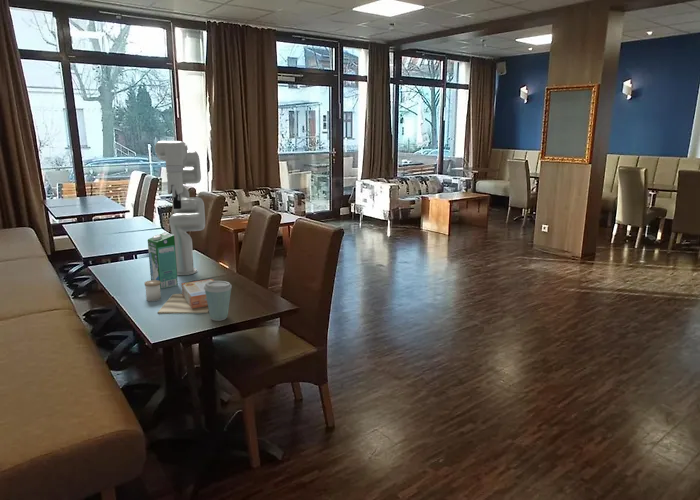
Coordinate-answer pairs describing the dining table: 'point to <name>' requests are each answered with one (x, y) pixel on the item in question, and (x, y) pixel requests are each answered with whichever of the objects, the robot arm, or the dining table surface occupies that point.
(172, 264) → the milk carton
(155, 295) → the tan and white mushroom
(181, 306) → the beech board
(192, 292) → the cracker box
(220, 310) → the disposable coffee cup
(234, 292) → the dining table surface
